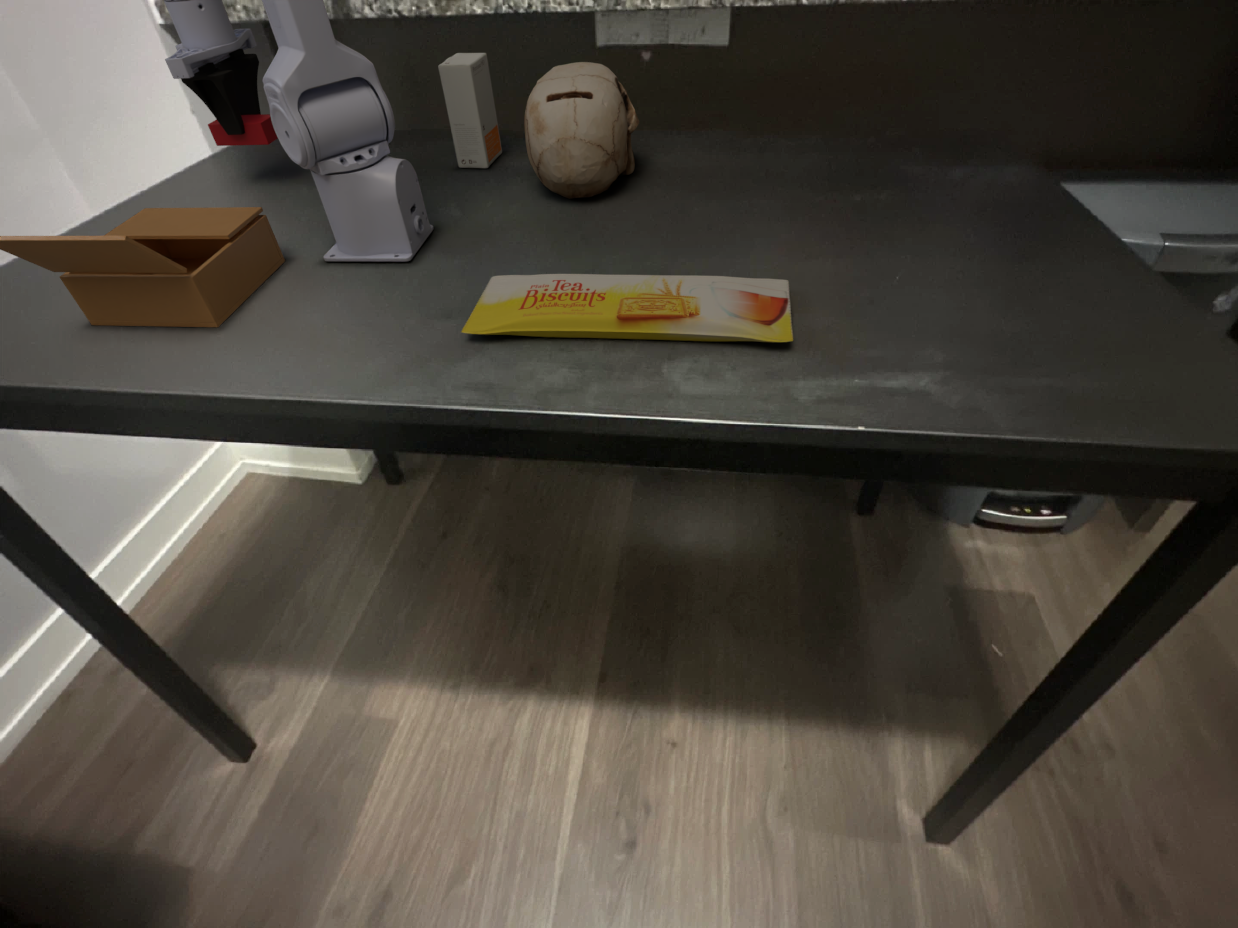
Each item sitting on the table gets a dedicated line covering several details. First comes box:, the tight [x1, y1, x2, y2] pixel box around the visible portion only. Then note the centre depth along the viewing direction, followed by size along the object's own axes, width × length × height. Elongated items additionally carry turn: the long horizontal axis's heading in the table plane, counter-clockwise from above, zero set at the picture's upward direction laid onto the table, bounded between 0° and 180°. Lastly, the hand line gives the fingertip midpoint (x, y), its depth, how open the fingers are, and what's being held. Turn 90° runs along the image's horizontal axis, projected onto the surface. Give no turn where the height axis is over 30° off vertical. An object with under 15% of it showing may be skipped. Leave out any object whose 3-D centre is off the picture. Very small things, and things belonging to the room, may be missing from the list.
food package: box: [460, 273, 794, 343], centre depth 59 cm, size 27×2×10 cm
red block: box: [207, 113, 279, 147], centre depth 84 cm, size 7×4×2 cm, turn 83°
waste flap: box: [0, 235, 187, 273], centre depth 56 cm, size 13×6×1 cm
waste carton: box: [59, 206, 286, 328], centre depth 66 cm, size 13×13×6 cm
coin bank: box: [523, 61, 640, 200], centre depth 80 cm, size 16×17×13 cm
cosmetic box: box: [437, 52, 503, 169], centre depth 86 cm, size 6×4×12 cm
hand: (245, 128), depth 84 cm, fingers closed on red block, 3 cm apart
